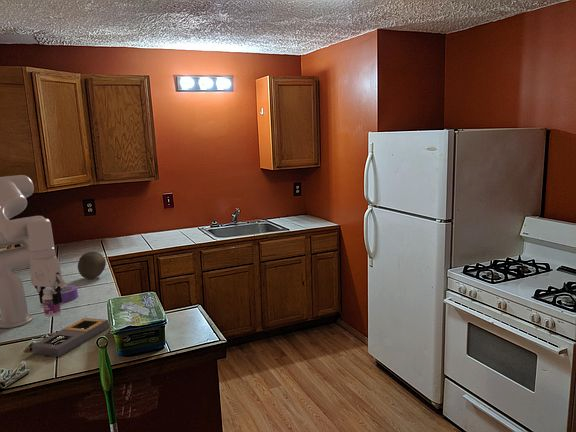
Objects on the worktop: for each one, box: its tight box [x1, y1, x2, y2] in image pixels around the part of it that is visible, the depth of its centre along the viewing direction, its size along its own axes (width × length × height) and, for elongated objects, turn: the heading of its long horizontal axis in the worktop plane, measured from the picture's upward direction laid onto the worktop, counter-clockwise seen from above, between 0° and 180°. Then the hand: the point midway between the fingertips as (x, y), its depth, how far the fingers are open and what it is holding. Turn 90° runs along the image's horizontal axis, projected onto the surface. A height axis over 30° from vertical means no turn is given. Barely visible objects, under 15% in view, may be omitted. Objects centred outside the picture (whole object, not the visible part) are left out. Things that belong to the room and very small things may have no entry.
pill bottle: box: [42, 287, 62, 318], centre depth 159 cm, size 5×5×10 cm
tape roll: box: [60, 285, 79, 304], centre depth 215 cm, size 12×12×5 cm
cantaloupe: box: [77, 251, 107, 280], centre depth 247 cm, size 14×14×15 cm
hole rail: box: [31, 317, 110, 358], centre depth 167 cm, size 12×25×3 cm, turn 161°
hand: (51, 302), depth 159 cm, fingers closed on pill bottle, 5 cm apart
